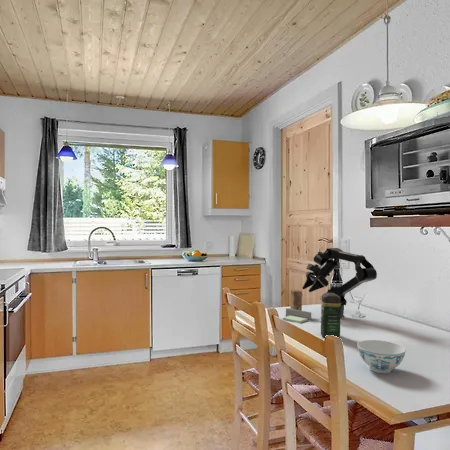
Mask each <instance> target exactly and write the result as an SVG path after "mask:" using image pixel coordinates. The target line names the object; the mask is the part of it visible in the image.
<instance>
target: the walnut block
mask: <svg viewBox="0 0 450 450" xmlns="http://www.w3.org/2000/svg"><path fill="white" fill-rule="evenodd" d="M302 303H303V291H302V290H300V289H291V290H290V308H289V309H295V310H301V311H303V310H302V309H303V307H302V306H303V305H302Z"/></svg>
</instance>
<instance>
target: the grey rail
mask: <svg viewBox="0 0 450 450" xmlns="http://www.w3.org/2000/svg"><path fill="white" fill-rule="evenodd" d="M290 315H291V316H296V317H302V318H307V319H308V321H310V322H311V321H312V312H311V311H305V310H302V311H301V310H295V309H290V308H288V307H287V308H285V317H287V316H290ZM308 321H307V322H308Z"/></svg>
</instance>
